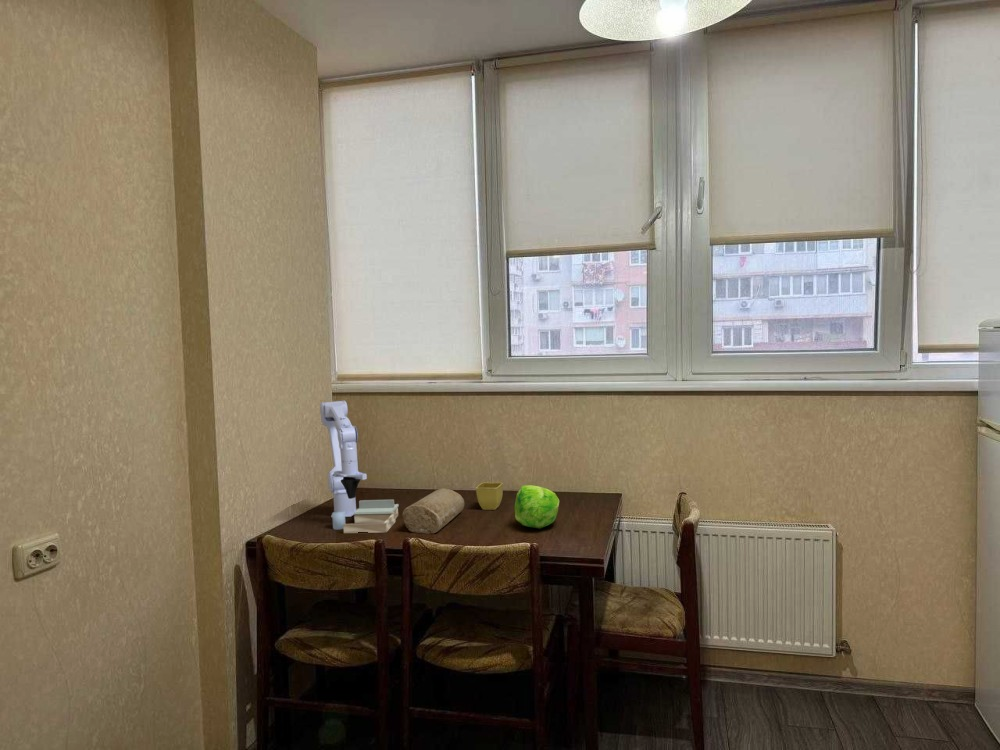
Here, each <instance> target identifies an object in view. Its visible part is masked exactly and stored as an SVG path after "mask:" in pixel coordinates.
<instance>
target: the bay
mask: <svg viewBox="0 0 1000 750" xmlns="http://www.w3.org/2000/svg"><path fill="white" fill-rule="evenodd" d="M398 517H399V507H397V508H396V510H395V511H394V512H393V513H392V514H354V515H353V518H354V523H346V524H344V525H343V528H344V529H343V534H359V533H358V532H368V533H367V534H369V533H375V534H376V533H377V534H378V533H387V532H388V531H389V530H390V529H391V528H392V527H393V526H394V524H395V523H396V521H397V520H396V519H397V518H398Z"/></svg>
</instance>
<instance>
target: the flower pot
mask: <svg viewBox="0 0 1000 750" xmlns="http://www.w3.org/2000/svg"><path fill="white" fill-rule="evenodd" d="M474 488H475V493H476V494H475V495H476V499H477V502H478V504H479V506H480V507H481V509H482V510H487V511H488V510H489V511H490V510H493V511H495V510H497V508H499V507H500V505H501V502H502V499H503V496H504V494H503V491H504V482H481V483H480V484H478V485H477V486H476V487H474Z"/></svg>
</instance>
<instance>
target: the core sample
mask: <svg viewBox="0 0 1000 750" xmlns="http://www.w3.org/2000/svg"><path fill="white" fill-rule="evenodd" d="M464 507H465V499H464V498H463V497H462V495H461V494H460V493H458V492H456V491H454V490H452V489H449V488H444V487H443V488H438V489H436V490H434V491H433V492H431V493H429V494H427V495H426V496H424V497H423V498H421V499H419V500H417V501H416V502H414V503H412V504H410V505H409V506H406V507H405V508H404V510H403V511H402V517H403V522H404V525H405V527H406V528H407V529H408V531H409V532H412V533H416V534H426V535H428V534H429V535H431V534H435V533H437V532H439V531H440V530H442V528H444V527H445V526H446V525H447V524H449V522H450V521H451V522H452V520H453V519H454V518H455V517H457V516H458V515H459V514H460V513H461V512H462V511H463V510H464Z"/></svg>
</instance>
